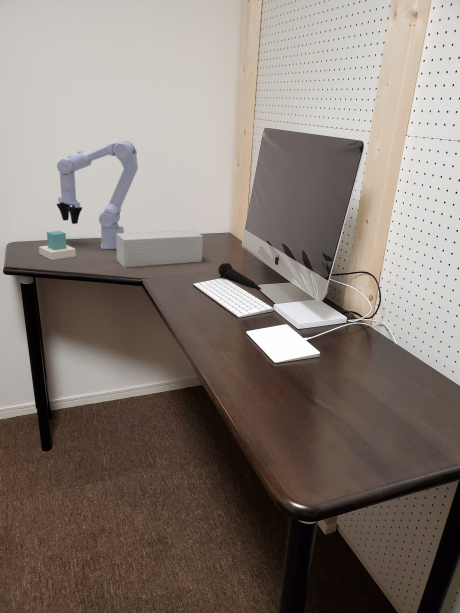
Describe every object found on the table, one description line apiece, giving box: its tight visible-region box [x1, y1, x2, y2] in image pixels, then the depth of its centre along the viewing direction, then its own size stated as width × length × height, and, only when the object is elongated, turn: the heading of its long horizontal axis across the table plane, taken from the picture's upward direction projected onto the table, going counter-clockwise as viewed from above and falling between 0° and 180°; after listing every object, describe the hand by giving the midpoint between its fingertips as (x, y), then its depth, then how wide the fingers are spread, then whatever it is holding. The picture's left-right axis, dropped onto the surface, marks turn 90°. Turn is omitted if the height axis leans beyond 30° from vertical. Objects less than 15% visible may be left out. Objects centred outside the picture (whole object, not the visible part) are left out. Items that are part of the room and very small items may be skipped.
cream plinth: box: [38, 244, 77, 261], centre depth 181 cm, size 10×10×3 cm
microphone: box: [217, 262, 262, 290], centre depth 165 cm, size 6×6×20 cm
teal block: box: [46, 230, 67, 250], centre depth 179 cm, size 5×5×6 cm
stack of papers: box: [116, 229, 204, 268], centre depth 183 cm, size 32×11×11 cm, turn 117°
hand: (70, 221), depth 195 cm, fingers open, 7 cm apart
